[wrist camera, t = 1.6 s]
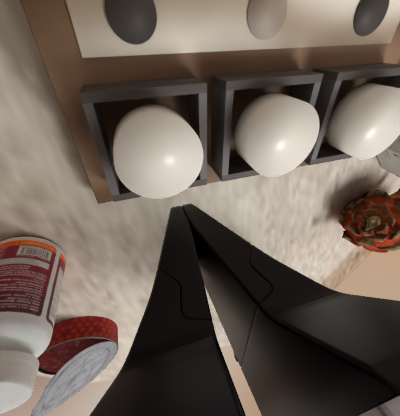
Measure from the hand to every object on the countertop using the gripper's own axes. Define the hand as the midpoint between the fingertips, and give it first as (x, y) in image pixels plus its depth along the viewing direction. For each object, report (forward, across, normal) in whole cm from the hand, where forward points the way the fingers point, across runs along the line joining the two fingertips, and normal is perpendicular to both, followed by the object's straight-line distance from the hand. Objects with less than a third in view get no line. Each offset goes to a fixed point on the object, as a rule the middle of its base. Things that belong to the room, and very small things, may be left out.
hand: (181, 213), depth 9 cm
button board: (+11, -8, -2) cm, 14 cm away
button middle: (+7, -8, 0) cm, 11 cm away
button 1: (+7, -16, 0) cm, 17 cm away
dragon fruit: (+12, -29, +15) cm, 34 cm away
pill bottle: (+11, +13, +11) cm, 20 cm away
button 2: (+7, 0, 0) cm, 7 cm away
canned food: (+12, +14, +28) cm, 33 cm away
